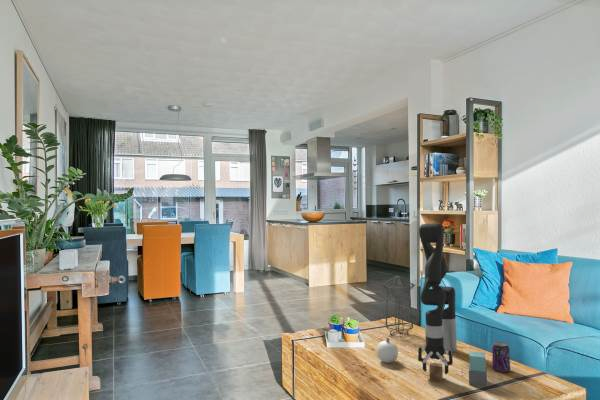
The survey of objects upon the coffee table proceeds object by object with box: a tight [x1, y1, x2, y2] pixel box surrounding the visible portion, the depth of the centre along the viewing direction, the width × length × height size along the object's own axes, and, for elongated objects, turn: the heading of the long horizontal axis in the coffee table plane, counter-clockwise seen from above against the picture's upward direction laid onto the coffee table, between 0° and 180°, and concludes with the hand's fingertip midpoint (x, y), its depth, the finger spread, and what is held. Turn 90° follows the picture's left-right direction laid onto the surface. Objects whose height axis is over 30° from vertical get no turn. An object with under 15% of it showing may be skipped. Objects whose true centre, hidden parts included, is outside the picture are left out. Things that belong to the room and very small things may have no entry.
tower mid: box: [469, 350, 487, 372], centre depth 177 cm, size 6×6×6 cm
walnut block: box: [428, 362, 444, 383], centre depth 182 cm, size 5×5×6 cm
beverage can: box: [491, 341, 511, 373], centre depth 190 cm, size 7×7×12 cm
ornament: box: [376, 337, 399, 364], centre depth 204 cm, size 10×10×12 cm
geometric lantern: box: [380, 275, 416, 338], centre depth 248 cm, size 16×16×35 cm
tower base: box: [468, 364, 488, 388], centre depth 177 cm, size 7×7×6 cm
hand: (435, 372), depth 182 cm, fingers open, 8 cm apart
